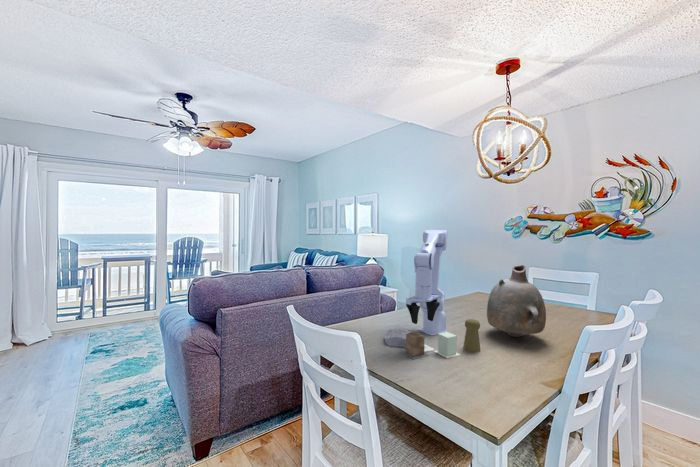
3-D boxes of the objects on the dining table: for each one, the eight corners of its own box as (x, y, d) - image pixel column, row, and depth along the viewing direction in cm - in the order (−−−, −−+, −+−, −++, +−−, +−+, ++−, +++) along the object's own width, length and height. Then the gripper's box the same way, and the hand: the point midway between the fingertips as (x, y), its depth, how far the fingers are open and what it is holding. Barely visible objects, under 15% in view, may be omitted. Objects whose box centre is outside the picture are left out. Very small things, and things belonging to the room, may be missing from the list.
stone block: (385, 351, 114) (412, 348, 113) (383, 338, 115) (409, 335, 113) (387, 341, 126) (411, 338, 124) (385, 329, 126) (409, 326, 125)
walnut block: (415, 349, 110) (416, 332, 110) (424, 354, 106) (424, 336, 106) (405, 352, 108) (406, 333, 108) (413, 356, 104) (414, 338, 104)
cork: (480, 347, 115) (480, 318, 114) (481, 353, 109) (482, 323, 109) (462, 345, 117) (463, 316, 116) (463, 351, 111) (464, 321, 111)
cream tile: (422, 343, 117) (422, 343, 117) (434, 349, 112) (434, 349, 112) (409, 346, 114) (409, 346, 114) (421, 353, 109) (421, 352, 109)
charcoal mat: (415, 348, 112) (415, 347, 112) (429, 356, 106) (429, 355, 106) (400, 352, 109) (400, 351, 109) (413, 360, 103) (413, 358, 103)
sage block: (446, 349, 112) (447, 331, 112) (456, 354, 108) (456, 335, 108) (437, 351, 110) (438, 333, 110) (447, 356, 106) (447, 337, 106)
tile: (446, 348, 113) (446, 348, 113) (460, 355, 108) (460, 354, 108) (433, 351, 110) (433, 351, 110) (447, 358, 104) (447, 358, 104)
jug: (472, 331, 132) (474, 262, 132) (504, 324, 142) (506, 260, 141) (527, 352, 111) (529, 270, 110) (561, 343, 120) (563, 267, 120)
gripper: (415, 288, 105) (414, 327, 106) (445, 285, 112) (445, 322, 113) (402, 285, 112) (401, 322, 112) (432, 282, 119) (431, 317, 119)
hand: (422, 321), depth 113 cm, fingers open, 7 cm apart
